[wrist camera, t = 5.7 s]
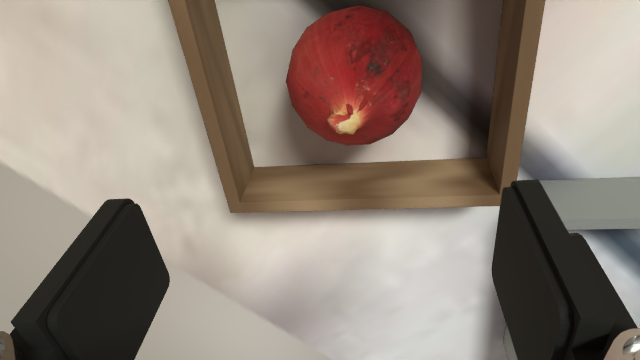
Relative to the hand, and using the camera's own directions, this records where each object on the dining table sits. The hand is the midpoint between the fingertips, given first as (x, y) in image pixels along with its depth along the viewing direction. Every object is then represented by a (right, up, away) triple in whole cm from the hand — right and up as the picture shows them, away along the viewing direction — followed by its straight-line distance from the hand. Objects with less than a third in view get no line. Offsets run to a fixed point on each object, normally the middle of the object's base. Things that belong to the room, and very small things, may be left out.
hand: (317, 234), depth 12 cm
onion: (+2, +8, +11) cm, 14 cm away
